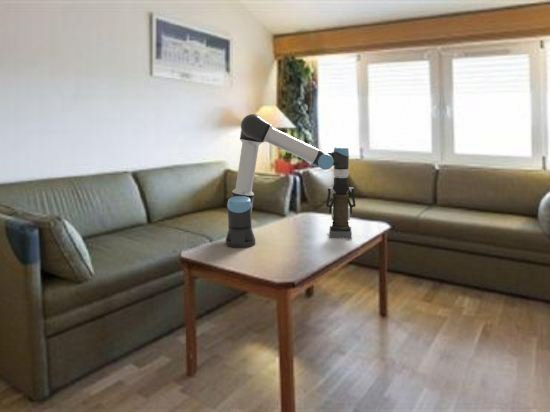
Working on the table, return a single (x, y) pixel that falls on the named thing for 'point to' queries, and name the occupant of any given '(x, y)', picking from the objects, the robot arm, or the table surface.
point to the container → (340, 211)
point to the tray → (340, 233)
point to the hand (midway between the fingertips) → (340, 219)
